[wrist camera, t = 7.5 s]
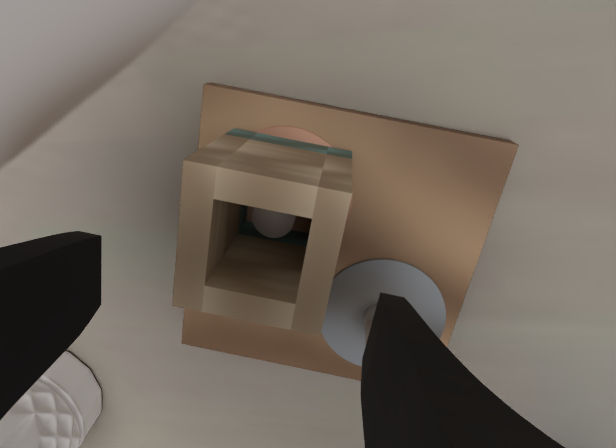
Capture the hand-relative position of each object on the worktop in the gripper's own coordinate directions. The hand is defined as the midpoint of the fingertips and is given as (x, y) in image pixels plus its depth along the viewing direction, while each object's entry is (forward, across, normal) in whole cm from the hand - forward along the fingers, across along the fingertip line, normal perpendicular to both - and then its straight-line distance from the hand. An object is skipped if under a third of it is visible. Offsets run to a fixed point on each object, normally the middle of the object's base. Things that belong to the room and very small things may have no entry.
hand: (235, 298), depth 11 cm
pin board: (+10, -2, +2) cm, 11 cm away
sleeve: (+9, 0, 0) cm, 9 cm away
